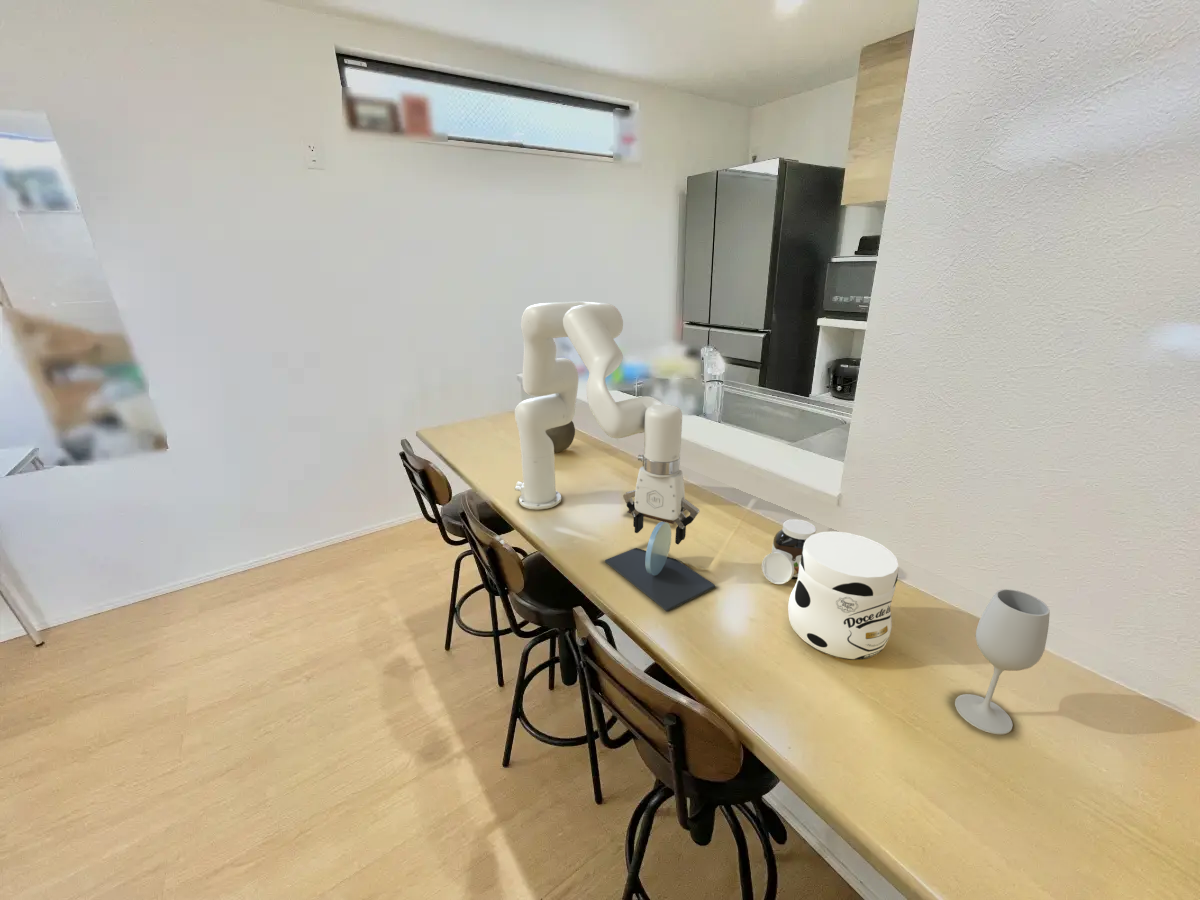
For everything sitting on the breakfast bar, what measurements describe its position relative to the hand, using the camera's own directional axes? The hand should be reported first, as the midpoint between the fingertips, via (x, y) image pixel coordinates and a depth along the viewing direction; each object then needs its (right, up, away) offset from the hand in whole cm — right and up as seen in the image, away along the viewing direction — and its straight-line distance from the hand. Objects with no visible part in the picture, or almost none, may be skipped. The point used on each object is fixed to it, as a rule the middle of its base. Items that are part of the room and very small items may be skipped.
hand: (658, 535), depth 109 cm
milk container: (+31, -16, -15) cm, 38 cm away
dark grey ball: (-29, +18, +79) cm, 86 cm away
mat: (0, -9, +3) cm, 10 cm away
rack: (+4, +1, +32) cm, 32 cm away
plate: (0, -9, +3) cm, 9 cm away
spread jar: (+30, -10, +3) cm, 31 cm away
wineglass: (+46, -22, -32) cm, 61 cm away
